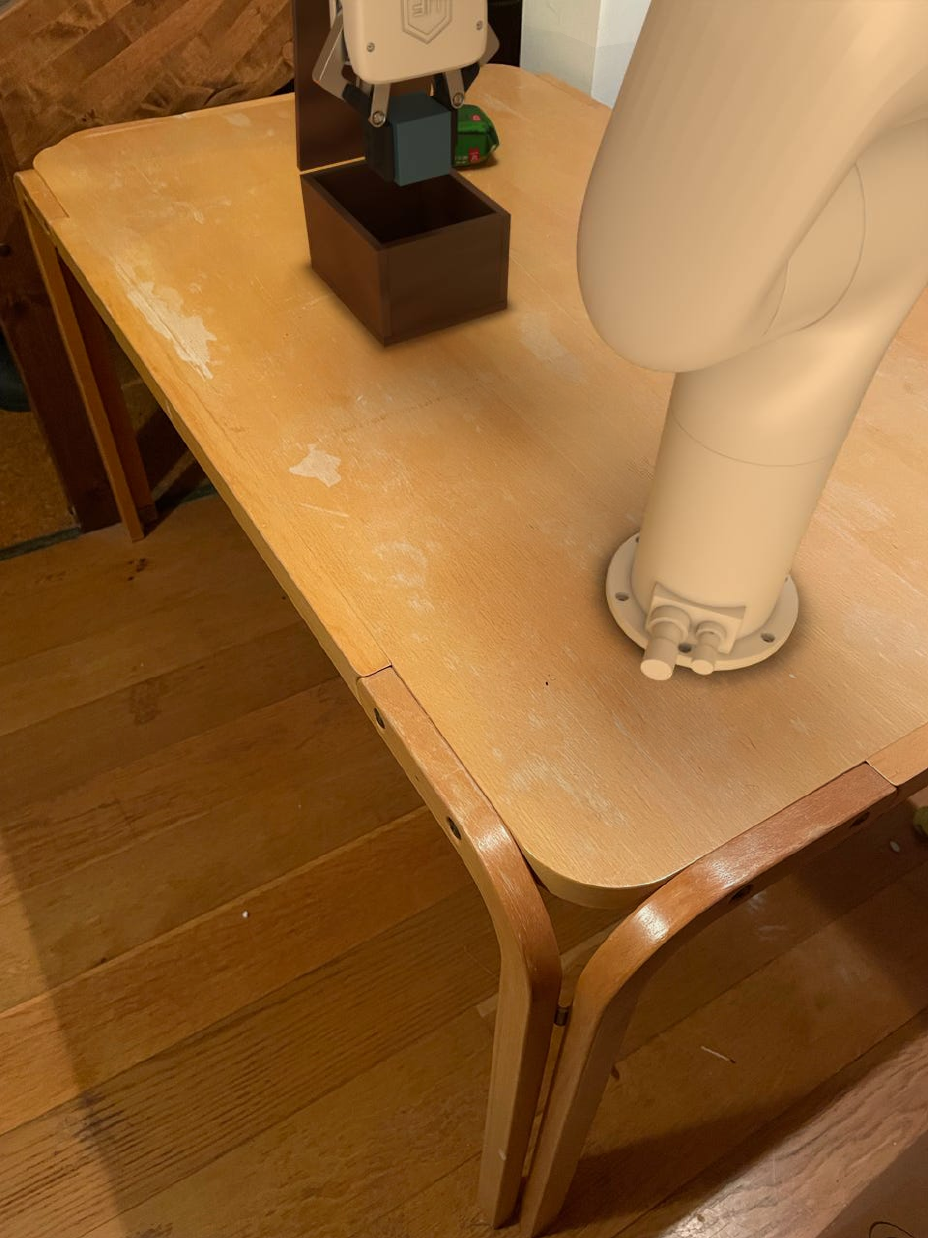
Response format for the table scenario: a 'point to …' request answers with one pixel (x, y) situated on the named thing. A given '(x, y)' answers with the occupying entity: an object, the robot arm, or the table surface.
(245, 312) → the table surface
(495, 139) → the snack package
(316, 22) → the lid
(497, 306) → the chest
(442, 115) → the block
